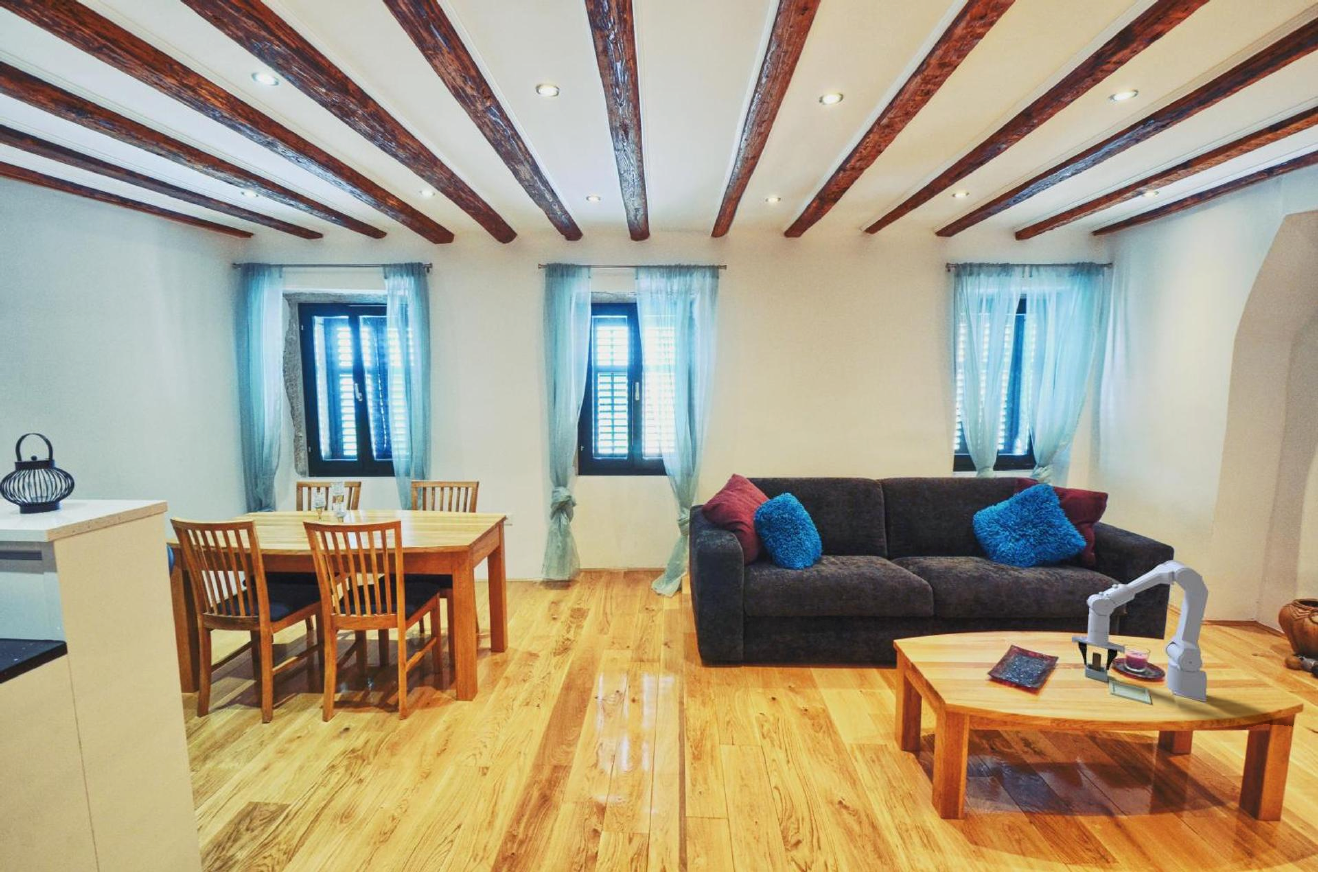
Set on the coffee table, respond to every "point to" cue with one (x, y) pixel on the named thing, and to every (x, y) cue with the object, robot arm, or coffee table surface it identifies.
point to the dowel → (1096, 661)
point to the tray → (1129, 692)
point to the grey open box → (1096, 673)
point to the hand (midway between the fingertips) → (1096, 666)
